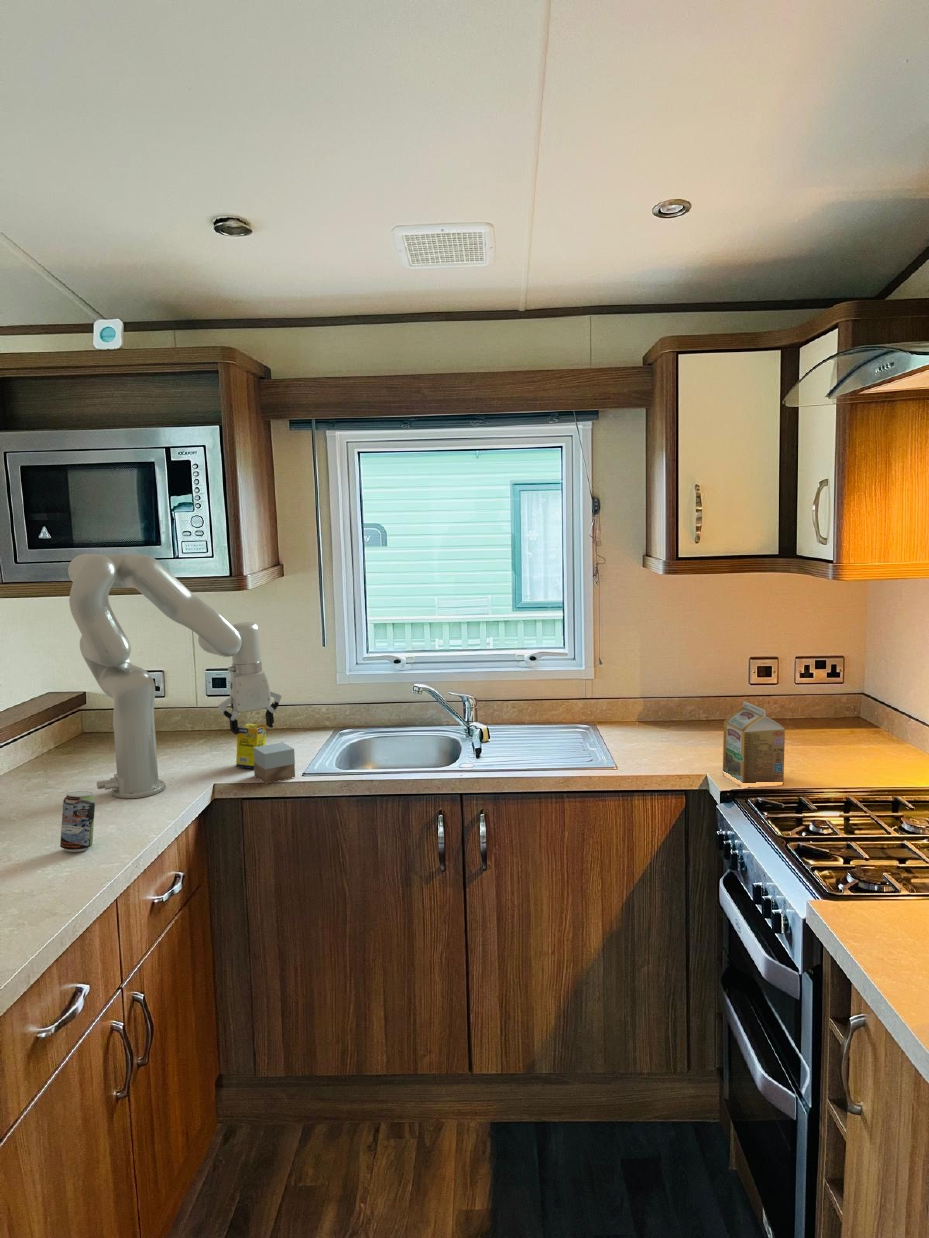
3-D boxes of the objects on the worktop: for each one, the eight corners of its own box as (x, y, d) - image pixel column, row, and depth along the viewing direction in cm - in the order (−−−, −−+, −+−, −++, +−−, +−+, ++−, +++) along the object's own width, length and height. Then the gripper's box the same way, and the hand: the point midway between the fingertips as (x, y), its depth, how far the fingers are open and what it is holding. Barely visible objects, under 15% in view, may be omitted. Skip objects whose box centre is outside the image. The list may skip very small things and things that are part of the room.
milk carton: (783, 785, 206) (785, 709, 204) (743, 788, 205) (744, 711, 202) (761, 772, 217) (763, 700, 214) (722, 775, 215) (724, 702, 213)
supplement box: (256, 769, 227) (257, 729, 227) (235, 767, 229) (236, 727, 228) (265, 764, 233) (267, 725, 232) (245, 762, 234) (246, 723, 234)
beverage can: (54, 853, 173) (49, 797, 171) (81, 840, 180) (77, 785, 178) (77, 857, 171) (73, 800, 169) (105, 844, 177) (101, 788, 176)
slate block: (265, 769, 215) (264, 754, 215) (254, 762, 222) (253, 747, 221) (294, 763, 220) (294, 748, 219) (283, 756, 226) (282, 742, 226)
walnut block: (265, 784, 216) (265, 769, 215) (254, 776, 222) (253, 761, 222) (295, 778, 220) (294, 763, 220) (283, 771, 227) (282, 756, 226)
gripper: (220, 675, 220) (225, 739, 223) (283, 665, 230) (288, 726, 232) (211, 671, 226) (216, 733, 229) (273, 662, 236) (277, 721, 238)
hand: (252, 730), depth 230 cm, fingers open, 9 cm apart
